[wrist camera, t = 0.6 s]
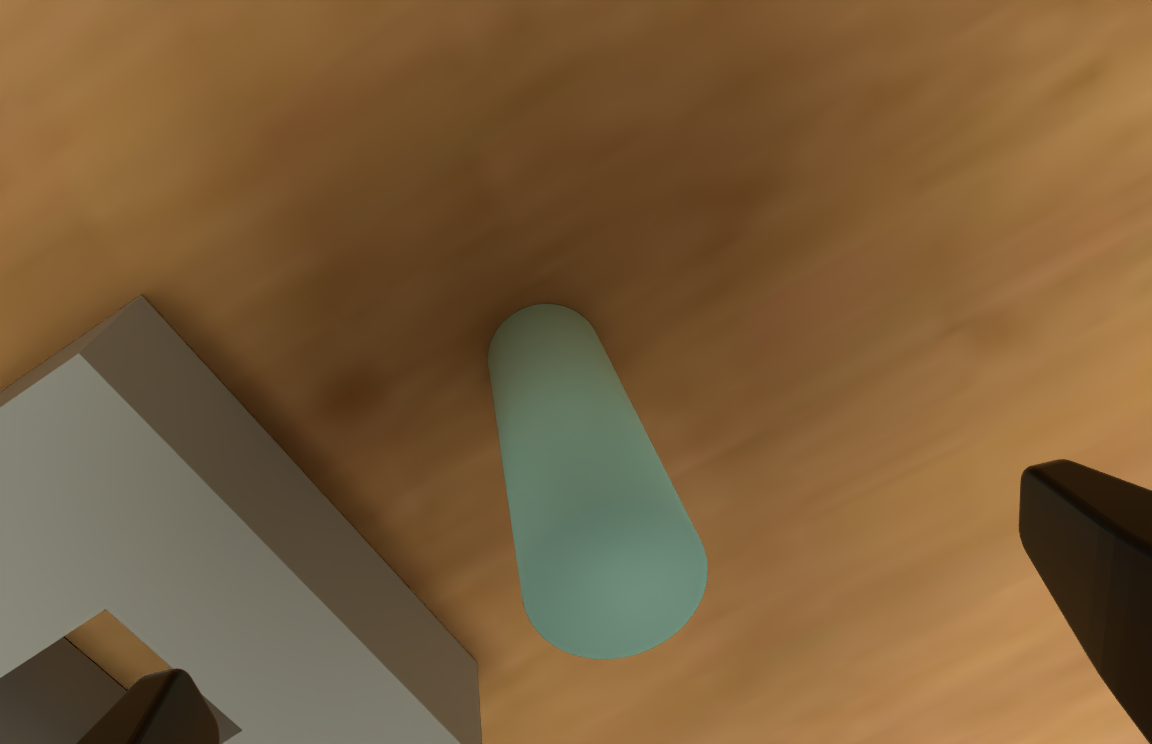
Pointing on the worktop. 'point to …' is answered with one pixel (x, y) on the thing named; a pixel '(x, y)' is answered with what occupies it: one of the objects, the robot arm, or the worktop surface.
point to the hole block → (198, 562)
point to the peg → (587, 494)
